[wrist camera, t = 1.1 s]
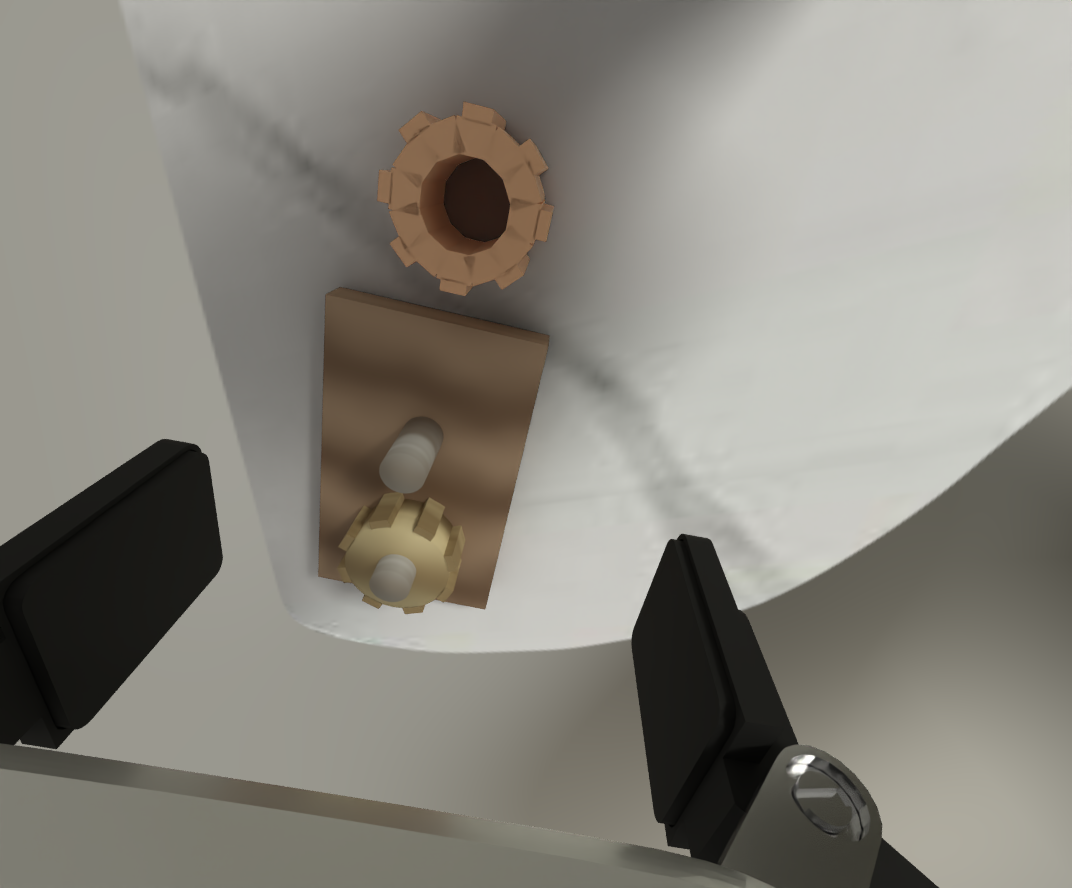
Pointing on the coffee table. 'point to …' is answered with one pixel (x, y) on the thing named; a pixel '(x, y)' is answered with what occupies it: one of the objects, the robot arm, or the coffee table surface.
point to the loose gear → (422, 189)
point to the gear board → (433, 384)
